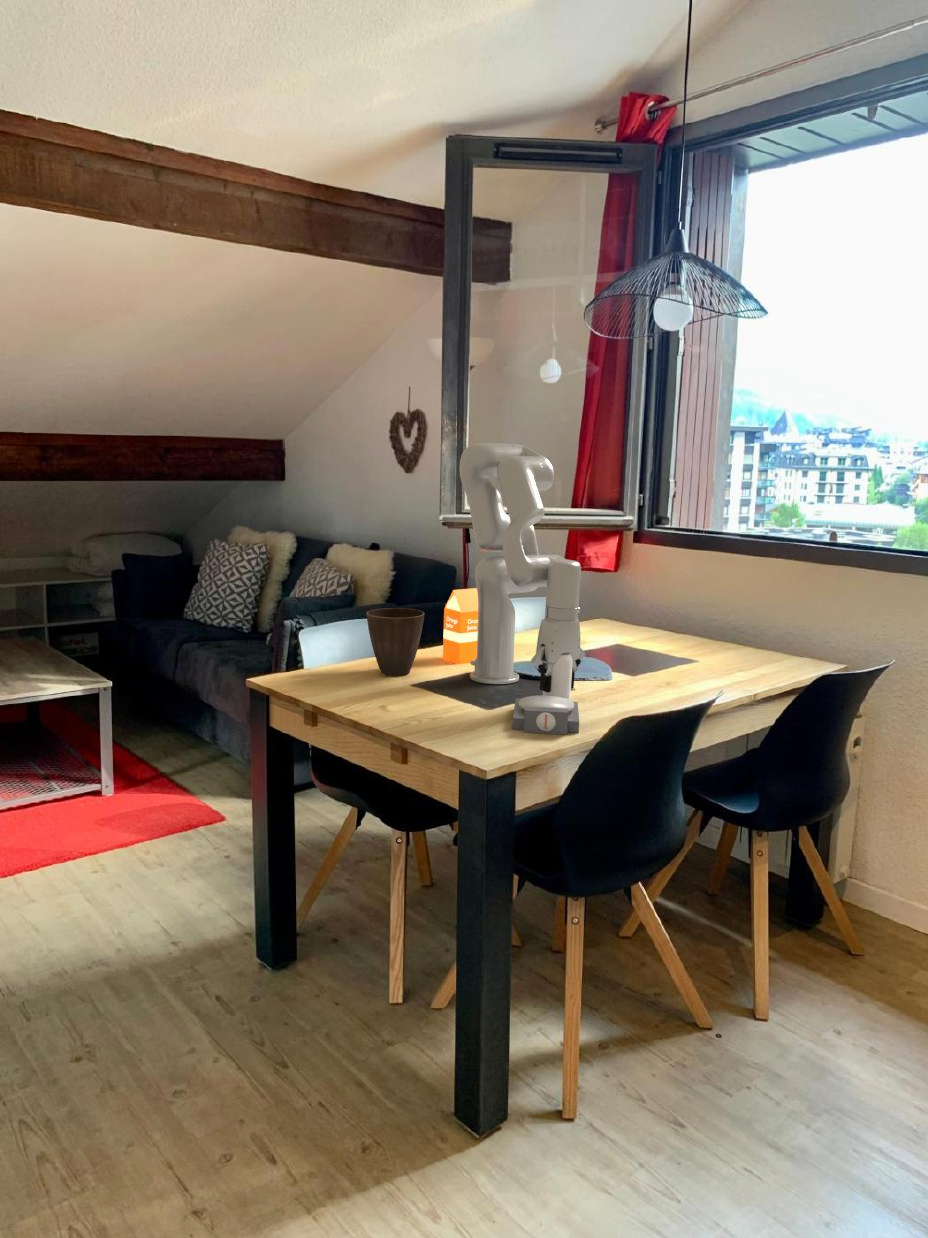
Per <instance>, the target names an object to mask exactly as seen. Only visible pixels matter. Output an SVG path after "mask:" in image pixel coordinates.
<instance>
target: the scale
mask: <svg viewBox="0 0 928 1238" xmlns="http://www.w3.org/2000/svg"><path fill="white" fill-rule="evenodd" d="M511 725H512V727H511V728H512V730H523V733H527V734H530V733H531V734H544V735H545V734H546V735H562V734H567V735H568V733H580V714H579V702H578V701H572V700H571V699H570V700H568V699H565V698H561V697H556V696H543V695H542V694H541V695H530V696H526V697H522V698H515V701H514V709H513V715H512V724H511Z"/></svg>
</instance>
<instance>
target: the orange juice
mask: <svg viewBox="0 0 928 1238" xmlns="http://www.w3.org/2000/svg"><path fill="white" fill-rule="evenodd" d="M443 610H444V611H443V612H444V613H443V636H442V637H443V639H442V640H443V642H442V644H443V646H442V649H443V650H442V659H443V660H444V659H445V660H444V661H447V660H448V661H447V662H450V661H451V662H450V663H454V664H456V665H464V664H470V662H471V660H475V658H476V657H477V629H478V594H477V587H474V588H462V589H453V590H452V592H451V594H450V596H449V598H448V600H447V602H446V603H445V607H444V609H443Z"/></svg>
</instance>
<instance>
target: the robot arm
mask: <svg viewBox="0 0 928 1238" xmlns="http://www.w3.org/2000/svg"><path fill="white" fill-rule="evenodd" d="M459 477H460V482H461V484H462V487H463V490H464V492H465V495H466V497H467V501H468V505H469V513H470V518H471V523H472V530H473V536H474V540H475V544H476V546H477V549H479V550H480V551H482V552H486V553H502V555H495V556H489V557H486V558H484V559H481V561H479V562H478V563H477V565H476V567H475V571H474V579H475V586H476V588H477V594H478V629H477V657H476V658H475V660H471V662H470V663H469V664H470V665H471V666H474V670H473V671H471V672H470V673H469V679H470V680H472V681H473V682H476V683H481V684H488V685H508V684H513V683H516V682H518V681H519V680H520V675H519V673H517V672H515V671H514V664H515V663H514V661H515V660H514V659H515V658H514V657H515V635H516V633H515V631H516V608H515V607H514V604H513V601H512V600H511V598H510V597H509V595H510V594H518V593H521V594H522V593H529V592H534V591H536V590H537V589H538V588H546V593H545V594H546V595H545V609H544V612H545V613H544V618H543V619H542V620H541V622H540V625H539V629H538V636H537V642H536V651H535V654H534V655H533V657H532V658H531V660H530V662H531V663H532V664H533V666H534V667H535V669H536V670H537V672H538V673H539V674H540V677H539V678H540V680H539V689H540V691H542V692H543V691H545V692H547V693H548V692H550V691H551V679H552V677H551V676H550V672H551V669H552V667H553V664H555V663H556V662H557V660H558V659H559V658H560V656H561V655H564V654H570V653H571V657H572V659H573V664H572V679H571V690H573V689H574V687H575V674H576V673H575V672H577V671H578V667H579V666H580V664H581V663H582V661H583V659H584V658H585V657H586V652H585V651H584V650H583V648H582V647H581V625H580V624H581V623H580V620H579V619H580V618H578V617H579V614H580V612H581V608H580V607H579V603H580V590H581V574H582V566H581V564H580V562H578V561H577V560H572V559H567V558H565V557H563V556H561V555H559V554H540V553H539V552H540V550H539V546H538V540H537V534H536V530H535V527H534V525H535V524H538V523H539V522H540V521H541V520H542V519H543V517H544V516H545V514H546V513H545V507H544V504H543V501H542V498H541V495H540V492H545V491H548V490H549V489H550V488H551V487H552V486H553V484H554V480H555V471H554V468H553V465H552V463H551V462H550V460H549V459H548V458H547V457H545V456H544V455H542V454H541V453H538V452H537V451H535V450H533V449H531V448H529V447H528V446H526V445H523V444H519V443H498V442H480V443H474V444H471V445H469V446H466V448H465V449H464V450H463V451H462V453H461V456H460V460H459ZM490 478H497V479H498V484H499V486H500V491H501V493H502V495H501V493H500V491H499V489H498V488H497V487H496V486H495V484H494V483H493V482H492V481H491V480H490ZM502 496H503V497H502ZM502 498H503V499H502ZM503 500H504V504H505V506H506V510H507V513H508V514H507V513H506V511H505V508H504V504H503ZM546 658H547V661H546ZM546 664H548V665H547V668H545V667H546Z"/></svg>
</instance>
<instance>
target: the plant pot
mask: <svg viewBox="0 0 928 1238" xmlns="http://www.w3.org/2000/svg"><path fill="white" fill-rule="evenodd" d="M365 614H366V621H367V627H368V633H369V638H370V642H371V647H372V650H373V654H374V657H375V660H376V663H377V665H378V669H379V670H380V674H382V675H383V676H388V677H400V676H401V677H403V676H407V675H409V674H410V672H411V670H412V667H413V664H414V661H415V659H416V657H417V656H416V655H417V653H418V649H419V645H420V641H421V637H422V636H421V635H422V631H423V625H424V620H425V612H424V611H422V610H419V609H413V608H403V607H402V608H401V607H395V608H394V607H393V608H391V607H390V608H389V607H387V608H377V609H371V610H368V611H366V613H365Z"/></svg>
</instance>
